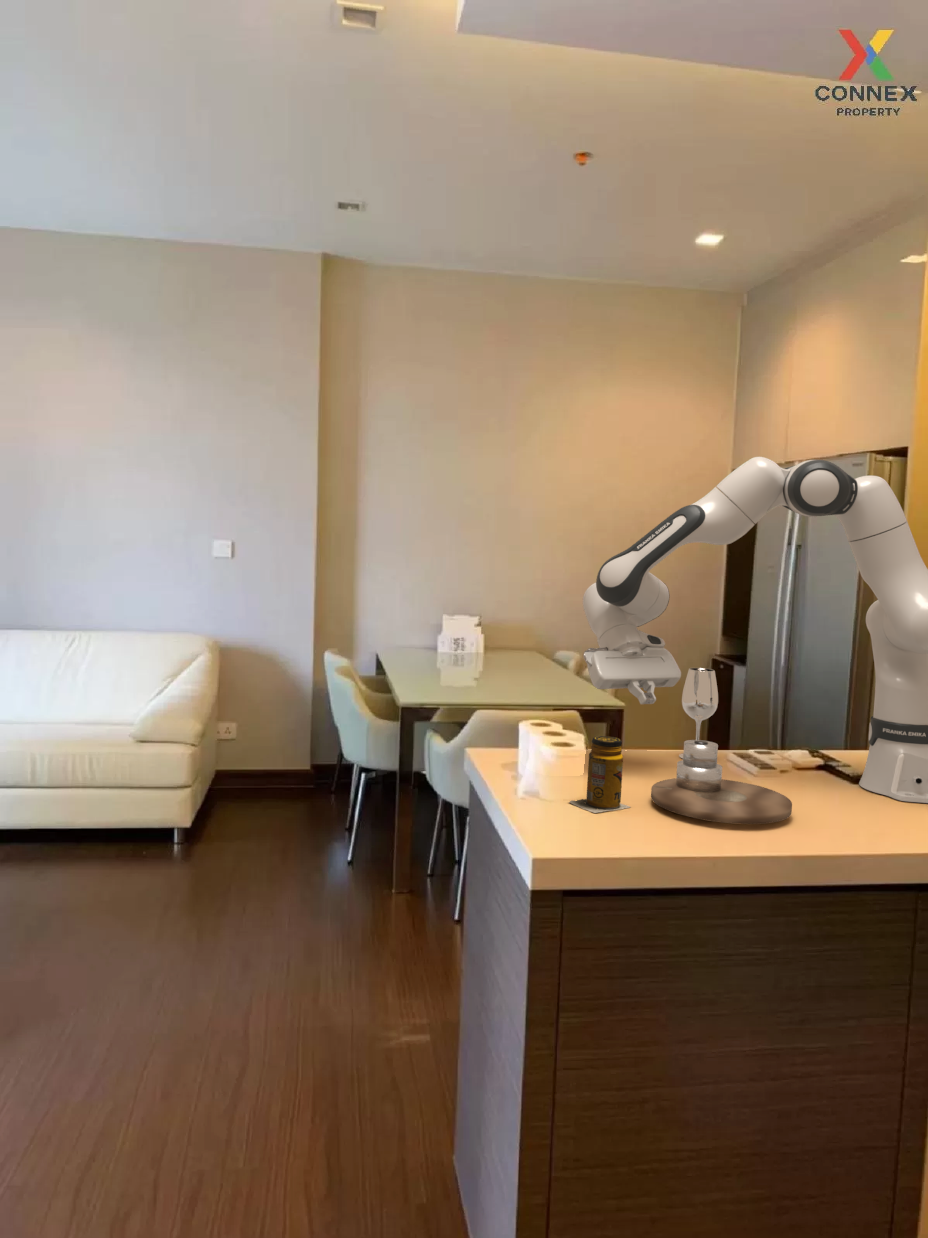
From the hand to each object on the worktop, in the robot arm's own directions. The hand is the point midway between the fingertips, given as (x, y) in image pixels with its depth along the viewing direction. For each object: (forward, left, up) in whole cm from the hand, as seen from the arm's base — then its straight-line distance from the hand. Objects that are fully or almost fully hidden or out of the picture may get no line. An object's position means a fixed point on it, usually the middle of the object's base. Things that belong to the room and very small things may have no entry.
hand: (648, 702), depth 176 cm
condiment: (+4, +24, -16) cm, 29 cm away
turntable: (-16, +16, -14) cm, 26 cm away
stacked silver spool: (-12, +12, -13) cm, 21 cm away
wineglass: (-8, -24, -16) cm, 30 cm away
